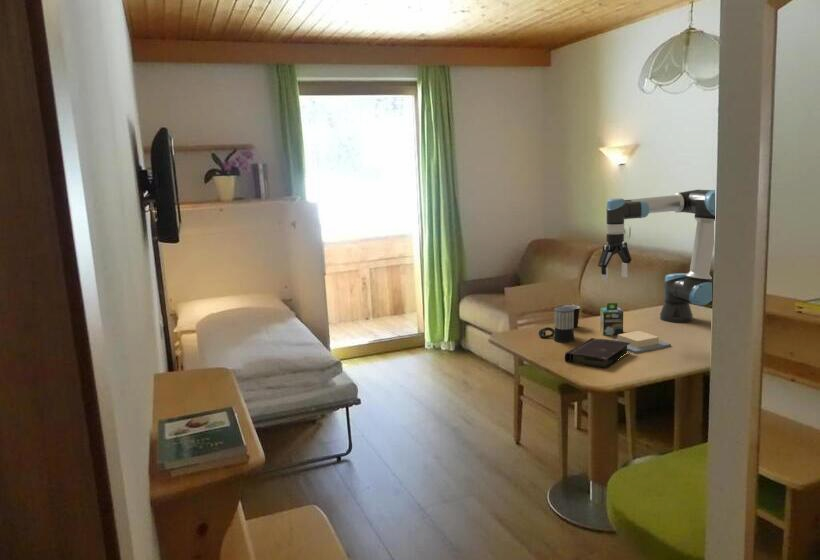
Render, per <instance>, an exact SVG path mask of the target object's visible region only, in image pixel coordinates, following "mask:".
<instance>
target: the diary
mask: <svg viewBox="0 0 820 560" xmlns="http://www.w3.org/2000/svg"><path fill="white" fill-rule="evenodd" d="M628 344H630V343H628V342H622V341H615V340H613V339H608V338H607V339H605V338H595V337H590V338H589V339H587V340H586V341H584V342H582V343H581V344H578V345H577V346H575V347H574V348H572V349H570V350H568V351H566V352H565V353H564V362H566V363H567V362H569V361H570V362H569V363H571V364H572V362H573V363H575V364H580V365H584V366H587V367H591V368H597V369H602V370H604V369H605V370H606V369H609V368H610V367H612V366H614V365H615V364H616V363H618V362H619V361H620V359H621V358H620V357H621V356H623V355H624V354H626V353H627V352H628V353H629V354H630V352H629V351H627V345H628ZM619 358H620V359H619ZM618 359H619V360H618ZM614 363H615V364H614ZM611 365H612V366H611Z"/></svg>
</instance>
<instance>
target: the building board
mask: <svg viewBox="0 0 820 560" xmlns="http://www.w3.org/2000/svg"><path fill="white" fill-rule="evenodd" d="M612 340H615V341H622V342H628V343H630V344H628V345H627V352H629V351H630V352H629V353H632V352H633V354H640V353H645V352H650V351H654V350H655V351H656V350H660V349H663V348H664V347H665V348H669V347H672V343H670V342H666V341H664V340H660V337H659V336H656V335H653V334H651V333H647V332H644V331H641V330H635V331H631V332H623V334H618V335H617V338H612ZM665 348H664V349H665Z"/></svg>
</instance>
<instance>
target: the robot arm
mask: <svg viewBox="0 0 820 560" xmlns="http://www.w3.org/2000/svg"><path fill="white" fill-rule="evenodd" d="M715 190H716V189H693V190H692V189H691V190H687V191H683V192H682V191H681V192H675V193H673V195H672V194H671V195H663V196H662V195H661V196H653V197H652V196H651V197H642V198H641V197H640V198H631V199H624V198H609V199H608V200H607V201H606V209H605V210H606V237H605V238H606V242H607V243H608V244H607V245H606V244H603V245H602V251H601V253H600V254H601V255H600V257H599V261H598V264H597V265H598V267H600V268H601V282H605V283H608V282H609V267H608V265H609V263H610V262H611V259H612V257H613V256H614V255H616V254H618V256H619V258H620V260H621V261H622V263H621V278H628V276H629V275H628V271H629V264H631V262H632V257H631V254H630V251H629V248H628V242H627V241H625V233H624V232H625V220H632V219H644V218H646V217H648V216H649V214H656V213H667V212H668V213H669V212H674V213H685V214H686V213H687V214H694V220H695V221H696V229H695V235H694V241H693V246H692V247H693V249H692V253H691V261H690V267H689V271H688V272H686V273H678V272H677V273H669V274H666V275H665V278H664V299H663V300H664V301H663V305H662V308H661V311H660V313H659V319H660V320H662V321H665V322H671V323H688V322H689V323H690V322H692V321H694V320H693V319H694V315H693V313H692V308H691V305H694V306H699V307H700V306H701V307H703V306H706V305H709V303H711V302H713V300H712V284H713V283H712V281H713V277H712V276H711V274H710V273H711V266H712V261H713V260H712V259H713V252H714V248H715V247H714V246H715V242H714V221H715ZM690 304H691V305H690Z"/></svg>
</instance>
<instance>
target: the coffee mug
mask: <svg viewBox="0 0 820 560" xmlns="http://www.w3.org/2000/svg"><path fill="white" fill-rule="evenodd" d="M561 307H572V308H574V309H575V310H574V329H577V328H578V325H579V317H580V310H581V307H580V306H579V305H575V304H568V305H567V304H566V305H563V306H561Z"/></svg>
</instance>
